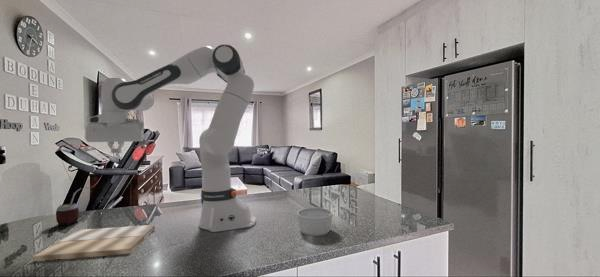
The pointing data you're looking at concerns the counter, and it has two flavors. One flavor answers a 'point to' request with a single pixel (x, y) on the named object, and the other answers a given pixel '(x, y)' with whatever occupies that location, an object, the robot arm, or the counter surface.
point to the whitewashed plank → (110, 233)
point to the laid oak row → (89, 248)
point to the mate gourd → (67, 213)
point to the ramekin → (314, 221)
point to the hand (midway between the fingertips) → (116, 153)
